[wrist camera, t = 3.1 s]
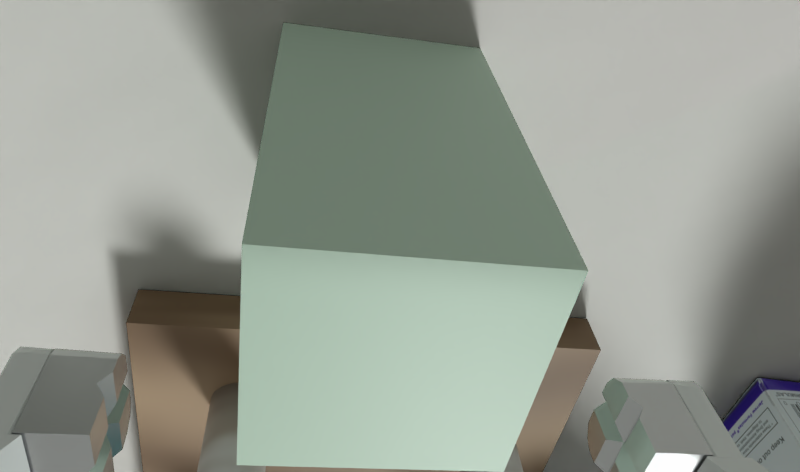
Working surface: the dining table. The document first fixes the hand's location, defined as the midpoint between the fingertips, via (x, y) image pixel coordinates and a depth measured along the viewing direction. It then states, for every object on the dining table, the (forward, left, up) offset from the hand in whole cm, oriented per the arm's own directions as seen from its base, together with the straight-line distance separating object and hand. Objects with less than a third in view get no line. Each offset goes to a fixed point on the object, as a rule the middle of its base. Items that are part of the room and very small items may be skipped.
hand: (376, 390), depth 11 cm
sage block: (-1, 0, -9) cm, 9 cm away
